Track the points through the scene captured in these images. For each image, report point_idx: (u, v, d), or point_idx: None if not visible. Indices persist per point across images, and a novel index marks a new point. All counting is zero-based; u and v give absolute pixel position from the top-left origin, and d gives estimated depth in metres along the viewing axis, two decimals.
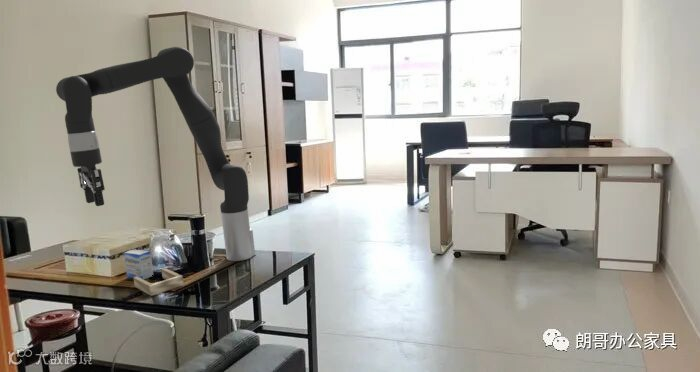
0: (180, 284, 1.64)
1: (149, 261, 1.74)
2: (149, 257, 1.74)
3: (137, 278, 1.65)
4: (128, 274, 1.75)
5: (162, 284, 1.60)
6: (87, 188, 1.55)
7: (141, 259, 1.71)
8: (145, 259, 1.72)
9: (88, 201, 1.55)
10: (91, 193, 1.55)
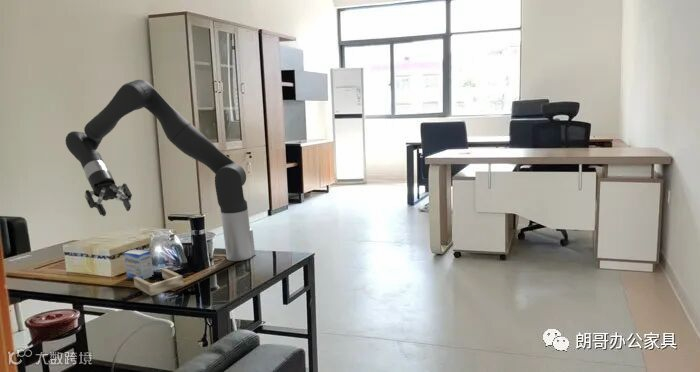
0: (180, 284, 1.64)
1: (149, 261, 1.74)
2: (149, 257, 1.74)
3: (137, 278, 1.65)
4: (128, 274, 1.75)
5: (162, 284, 1.60)
6: (123, 200, 1.84)
7: (141, 259, 1.71)
8: (145, 259, 1.72)
9: (126, 209, 1.83)
10: (125, 202, 1.83)
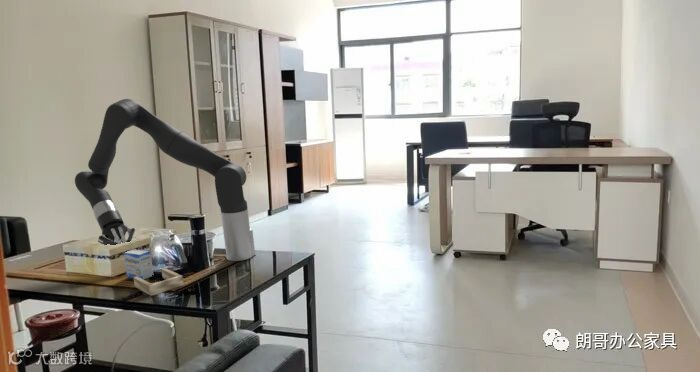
0: (180, 284, 1.64)
1: (149, 261, 1.74)
2: (149, 257, 1.74)
3: (137, 278, 1.65)
4: (128, 274, 1.75)
5: (162, 284, 1.60)
6: None
7: (141, 259, 1.71)
8: (145, 259, 1.72)
9: None
10: None
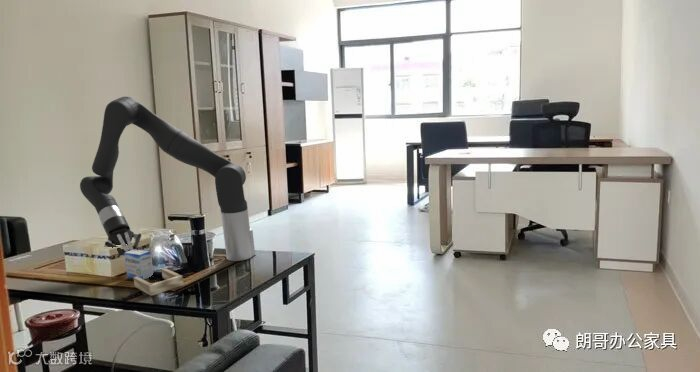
0: (180, 284, 1.64)
1: (149, 261, 1.74)
2: (149, 257, 1.74)
3: (137, 278, 1.65)
4: (128, 274, 1.75)
5: (162, 284, 1.60)
6: None
7: (141, 259, 1.71)
8: (145, 259, 1.72)
9: None
10: None
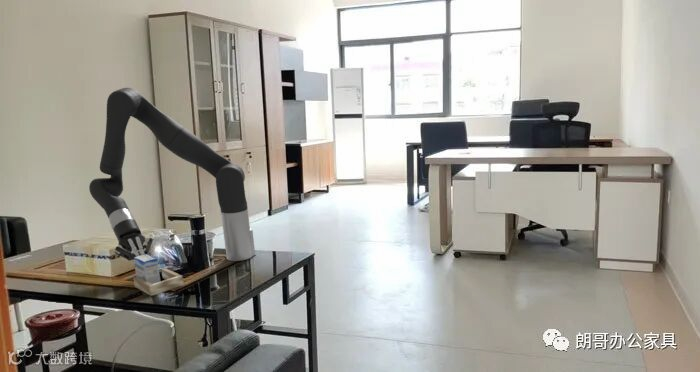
0: (180, 284, 1.64)
1: (156, 269, 1.65)
2: (156, 265, 1.65)
3: (137, 278, 1.65)
4: None
5: (162, 284, 1.60)
6: None
7: (145, 267, 1.63)
8: (150, 266, 1.64)
9: None
10: None
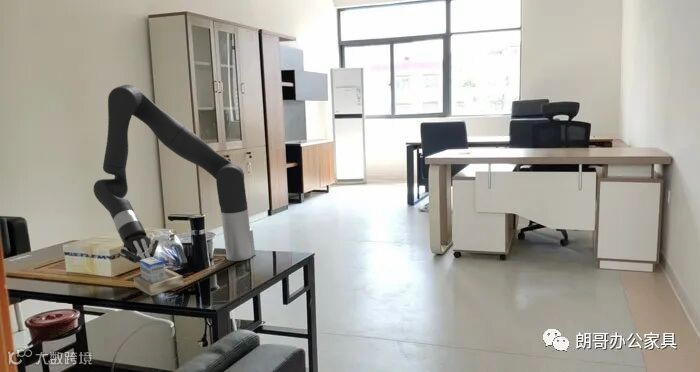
0: (180, 284, 1.64)
1: (162, 272, 1.62)
2: (162, 267, 1.62)
3: (137, 278, 1.65)
4: None
5: (162, 284, 1.60)
6: None
7: (151, 270, 1.60)
8: (156, 269, 1.61)
9: None
10: None
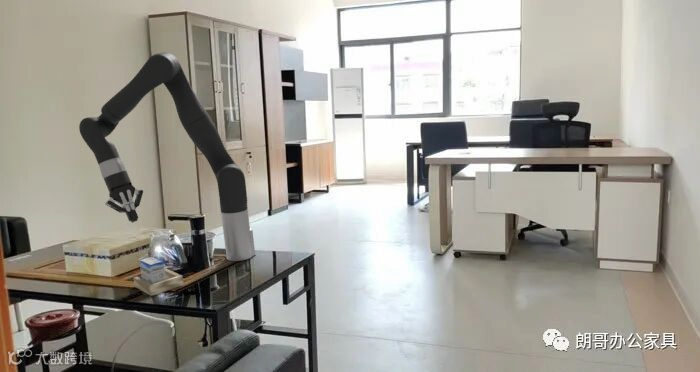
0: (180, 284, 1.64)
1: (162, 272, 1.62)
2: (162, 268, 1.62)
3: (137, 278, 1.65)
4: None
5: (162, 284, 1.60)
6: (130, 209, 1.78)
7: (151, 270, 1.60)
8: (156, 269, 1.61)
9: None
10: None
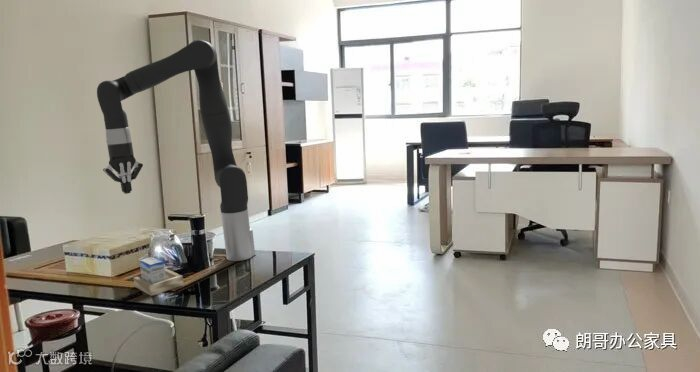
0: (180, 284, 1.64)
1: (162, 272, 1.62)
2: (162, 268, 1.62)
3: (137, 278, 1.65)
4: None
5: (162, 284, 1.60)
6: None
7: (151, 270, 1.60)
8: (156, 269, 1.61)
9: None
10: None
